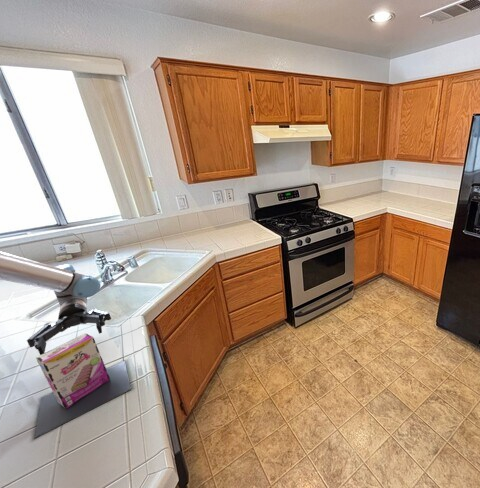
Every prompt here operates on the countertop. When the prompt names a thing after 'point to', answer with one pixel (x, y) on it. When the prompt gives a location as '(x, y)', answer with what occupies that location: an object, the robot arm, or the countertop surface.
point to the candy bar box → (74, 369)
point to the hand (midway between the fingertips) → (71, 339)
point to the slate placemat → (82, 401)
